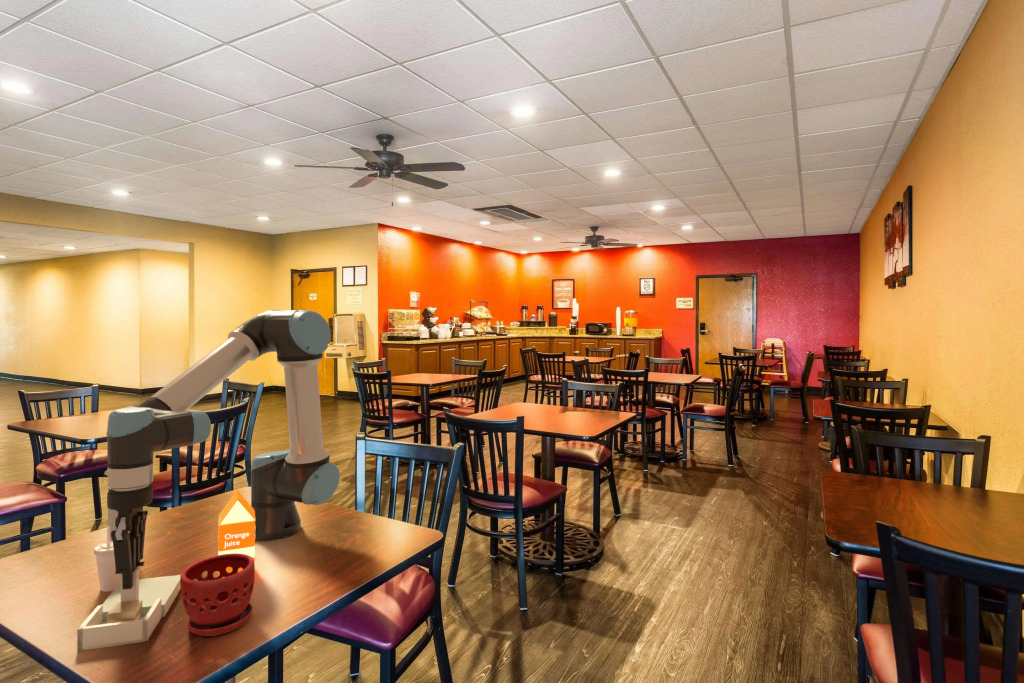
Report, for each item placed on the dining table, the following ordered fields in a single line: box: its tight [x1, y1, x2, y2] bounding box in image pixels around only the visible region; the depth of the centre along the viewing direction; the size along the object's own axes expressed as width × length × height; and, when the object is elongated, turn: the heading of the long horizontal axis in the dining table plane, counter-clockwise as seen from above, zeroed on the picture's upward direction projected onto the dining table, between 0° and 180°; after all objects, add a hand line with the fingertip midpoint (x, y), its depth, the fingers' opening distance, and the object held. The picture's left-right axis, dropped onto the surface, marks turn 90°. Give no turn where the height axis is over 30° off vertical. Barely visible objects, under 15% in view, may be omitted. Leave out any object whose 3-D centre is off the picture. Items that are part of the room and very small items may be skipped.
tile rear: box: [107, 599, 142, 624], centre depth 106 cm, size 4×4×2 cm
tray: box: [76, 598, 163, 652], centre depth 105 cm, size 11×9×4 cm
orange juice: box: [217, 489, 256, 578], centre depth 128 cm, size 8×9×20 cm
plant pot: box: [180, 553, 256, 637], centre depth 108 cm, size 13×13×12 cm
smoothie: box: [92, 525, 121, 593], centre depth 122 cm, size 6×6×14 cm
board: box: [101, 574, 181, 622], centre depth 116 cm, size 12×14×2 cm
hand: (129, 601), depth 109 cm, fingers closed
